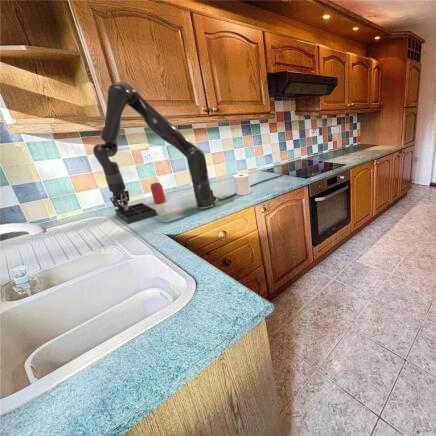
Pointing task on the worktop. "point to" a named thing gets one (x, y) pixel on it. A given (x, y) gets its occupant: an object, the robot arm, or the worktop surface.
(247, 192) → the toilet paper
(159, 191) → the beer can
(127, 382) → the worktop surface
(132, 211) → the grid
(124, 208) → the token
